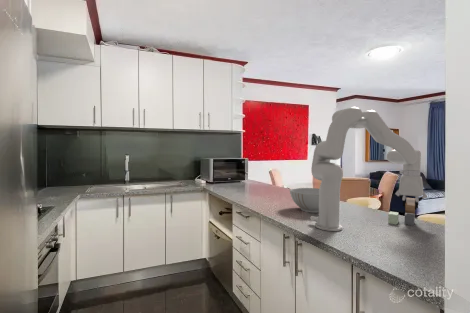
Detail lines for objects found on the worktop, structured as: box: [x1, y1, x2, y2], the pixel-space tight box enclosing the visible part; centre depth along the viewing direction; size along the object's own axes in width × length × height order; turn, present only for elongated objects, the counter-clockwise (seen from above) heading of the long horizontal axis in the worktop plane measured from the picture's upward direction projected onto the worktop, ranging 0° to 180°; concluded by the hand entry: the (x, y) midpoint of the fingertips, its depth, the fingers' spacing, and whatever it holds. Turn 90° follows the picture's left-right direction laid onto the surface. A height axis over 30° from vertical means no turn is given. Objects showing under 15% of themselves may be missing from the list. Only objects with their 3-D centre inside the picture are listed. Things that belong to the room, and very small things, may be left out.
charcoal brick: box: [403, 213, 416, 226], centre depth 138 cm, size 7×4×5 cm, turn 143°
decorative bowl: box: [289, 187, 319, 214], centre depth 164 cm, size 27×27×12 cm
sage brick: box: [387, 210, 400, 225], centre depth 139 cm, size 7×4×5 cm, turn 144°
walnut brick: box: [404, 197, 416, 215], centre depth 138 cm, size 7×4×5 cm, turn 143°
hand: (410, 208), depth 137 cm, fingers closed on walnut brick, 4 cm apart
